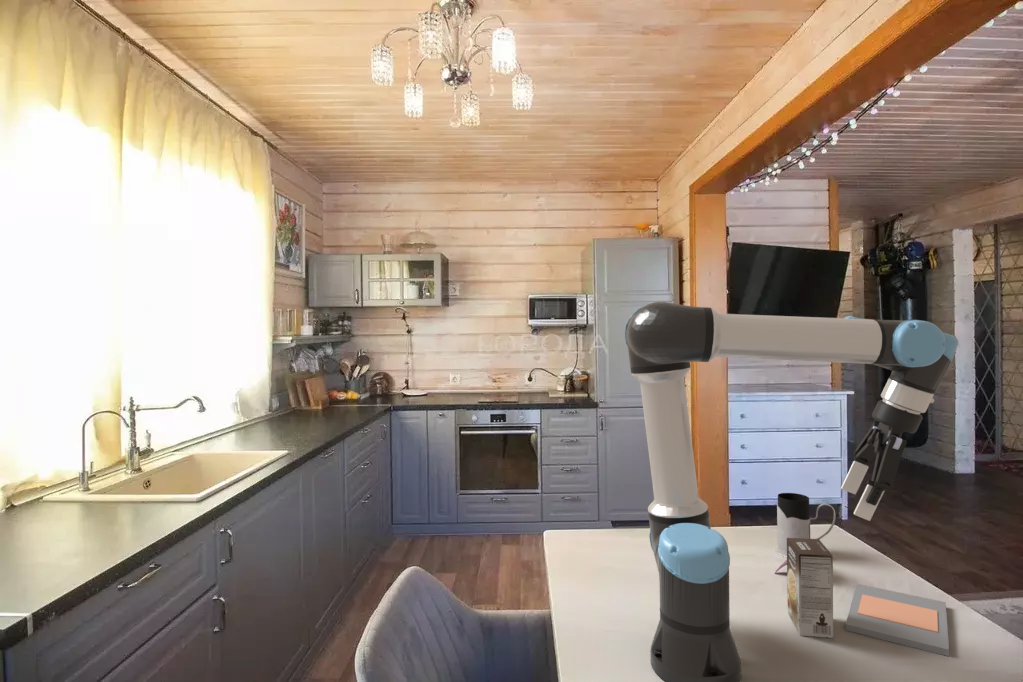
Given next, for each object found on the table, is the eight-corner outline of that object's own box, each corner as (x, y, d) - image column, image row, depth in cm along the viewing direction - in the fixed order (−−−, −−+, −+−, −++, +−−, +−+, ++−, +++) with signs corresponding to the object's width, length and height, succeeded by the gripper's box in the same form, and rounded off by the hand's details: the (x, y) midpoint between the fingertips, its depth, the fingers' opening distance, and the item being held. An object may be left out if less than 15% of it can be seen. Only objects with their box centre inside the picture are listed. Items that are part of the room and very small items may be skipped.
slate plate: (949, 656, 101) (948, 648, 101) (845, 630, 111) (845, 623, 111) (945, 607, 119) (945, 601, 119) (856, 588, 128) (856, 582, 128)
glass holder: (774, 545, 156) (773, 491, 155) (832, 551, 151) (831, 495, 151) (777, 557, 147) (776, 499, 147) (839, 563, 143) (838, 504, 142)
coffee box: (786, 613, 118) (785, 536, 118) (819, 615, 117) (818, 538, 116) (799, 636, 109) (798, 553, 109) (835, 639, 108) (834, 555, 107)
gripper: (946, 431, 95) (891, 539, 100) (904, 400, 118) (861, 489, 123) (897, 414, 97) (845, 520, 102) (866, 387, 120) (825, 474, 125)
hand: (854, 503), depth 112 cm, fingers open, 13 cm apart
